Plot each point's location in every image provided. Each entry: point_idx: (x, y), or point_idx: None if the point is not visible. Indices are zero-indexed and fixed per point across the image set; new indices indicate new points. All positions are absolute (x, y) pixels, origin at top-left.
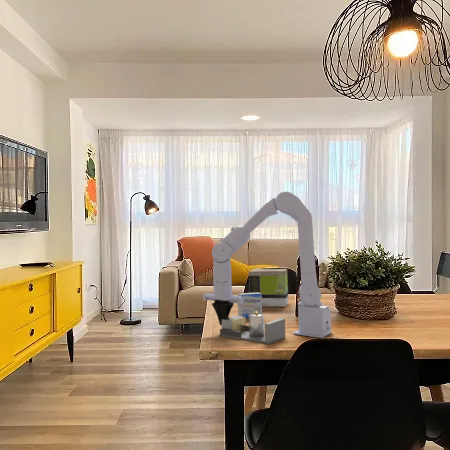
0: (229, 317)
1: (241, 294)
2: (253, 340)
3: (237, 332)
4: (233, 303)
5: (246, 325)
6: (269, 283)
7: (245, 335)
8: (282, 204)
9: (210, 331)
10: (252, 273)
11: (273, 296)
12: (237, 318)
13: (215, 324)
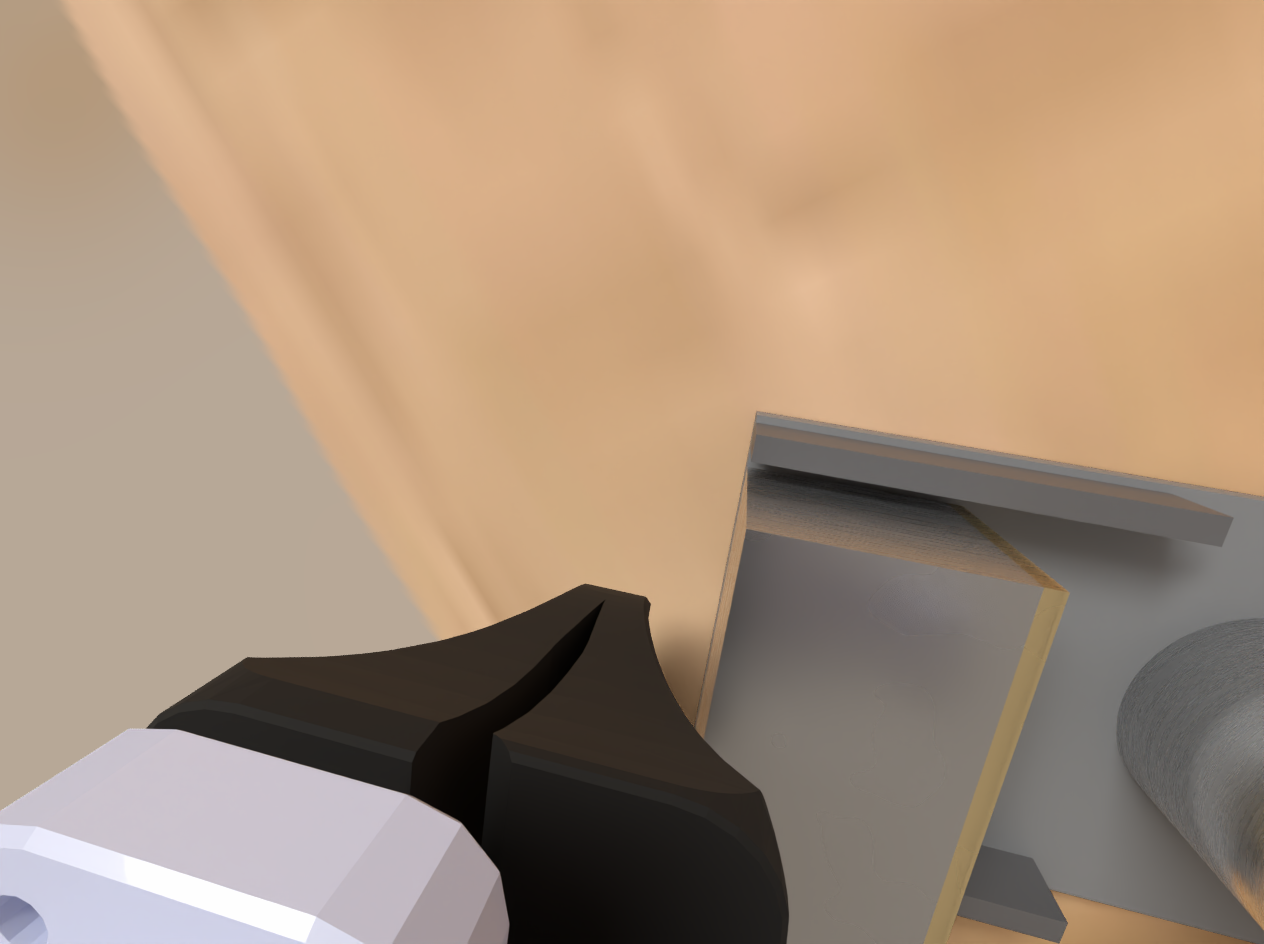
0: (723, 741)
1: None
2: (1252, 930)
3: (996, 915)
4: (785, 891)
5: (990, 486)
6: None
7: (1063, 772)
8: None
9: (450, 586)
10: None
11: None
12: (938, 794)
13: (270, 164)
